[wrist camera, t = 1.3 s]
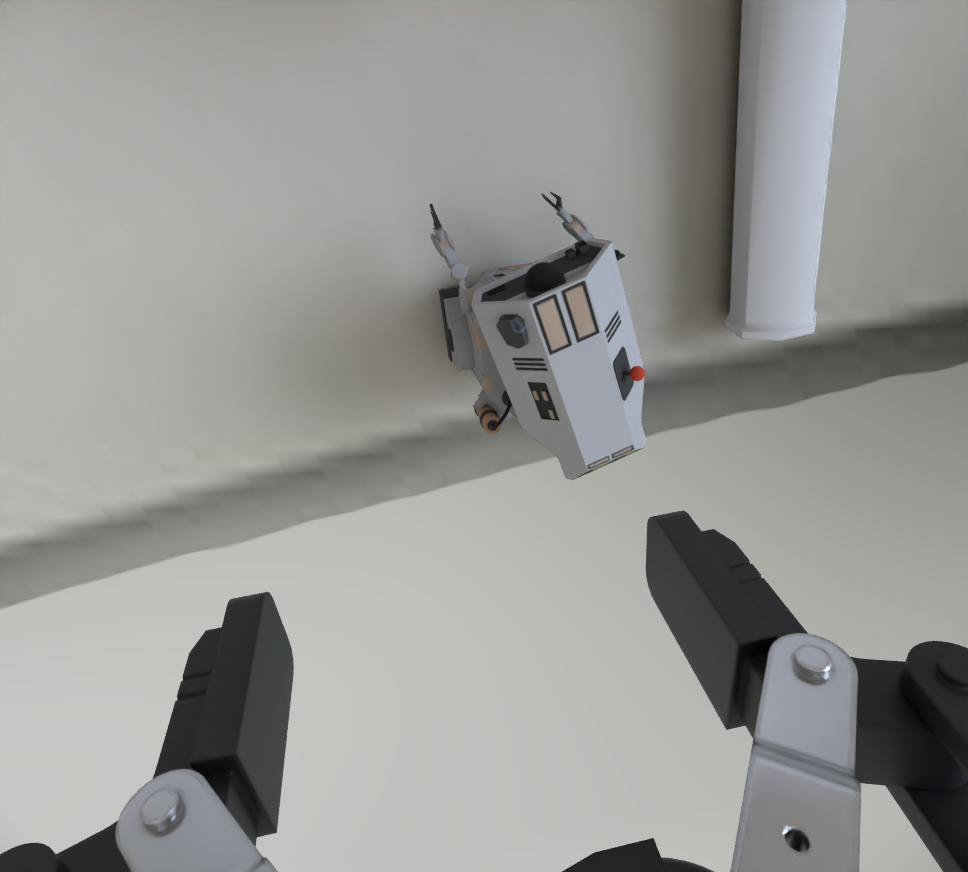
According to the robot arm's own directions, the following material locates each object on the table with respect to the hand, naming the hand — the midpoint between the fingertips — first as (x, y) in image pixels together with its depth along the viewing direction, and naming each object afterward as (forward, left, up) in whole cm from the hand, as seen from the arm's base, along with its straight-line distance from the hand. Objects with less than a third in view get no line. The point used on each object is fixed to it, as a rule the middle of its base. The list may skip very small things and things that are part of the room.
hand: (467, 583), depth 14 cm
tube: (-17, +14, -27) cm, 35 cm away
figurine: (-2, +6, -27) cm, 28 cm away
